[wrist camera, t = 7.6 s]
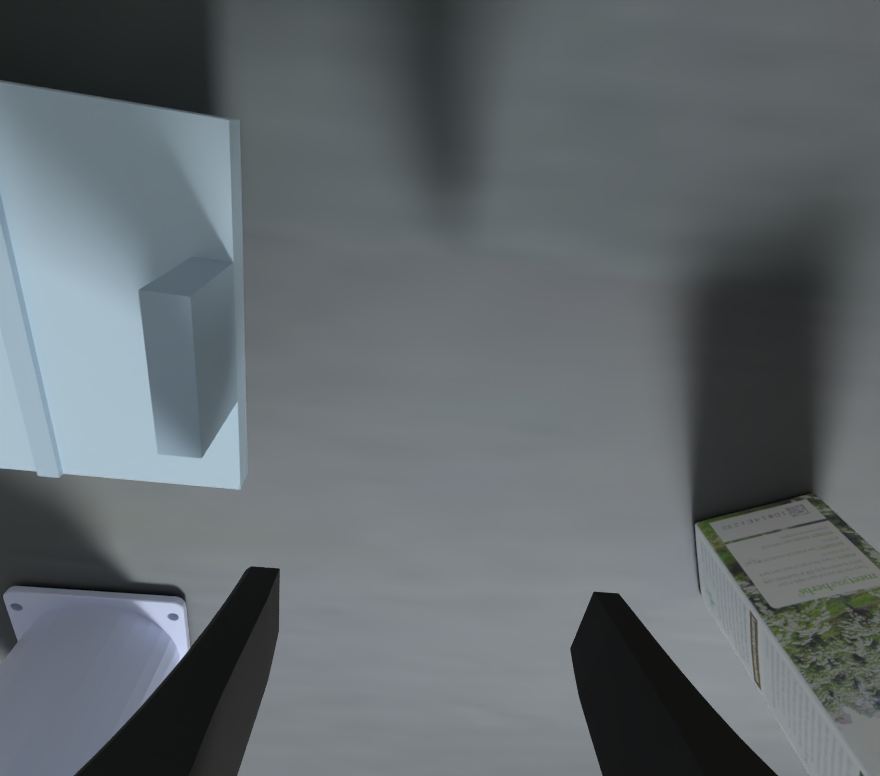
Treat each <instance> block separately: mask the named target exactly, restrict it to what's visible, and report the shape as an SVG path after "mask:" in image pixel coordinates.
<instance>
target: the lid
mask: <svg viewBox="0 0 880 776" xmlns="http://www.w3.org/2000/svg"><path fill="white" fill-rule="evenodd" d="M0 468H4V469H16V470H27V471H37V475H38V476H44V477H55V478H60V477H61V476H62V475H63V474H72V475H83V476H94V477H105V478H116V479H127V480H139V481H150V482H161V483H172V484H183V485H195V486H206V487H217V488H228V489H239V490H240V489H241V487H242V485H243V483H244V481H245V479H246V477H247V474H248V465H247V420H246V375H245V330H244V285H243V239H242V194H241V149H240V120H237V119H231V118H225V117H219V116H213V115H207V114H201V113H195V112H189V111H183V110H177V109H171V108H165V107H159V106H153V105H147V104H141V103H135V102H129V101H123V100H117V99H111V98H105V97H99V96H93V95H87V94H81V93H75V92H69V91H63V90H57V89H51V88H45V87H39V86H33V85H27V84H21V83H15V82H9V81H3V80H0Z"/></svg>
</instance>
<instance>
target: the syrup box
mask: <svg viewBox="0 0 880 776" xmlns="http://www.w3.org/2000/svg"><path fill="white" fill-rule="evenodd" d="M695 532H696V548H697V559H698V569H699V578H700V589H701V596H702V600H703V602H704V604H705V606H706V607H707V609H708V611H709V612H710V614H711V615H712V617H713V619H714V620H715V622H716V623H717V625H718V626H719V628H720V630H721V631H722V633H723V634H724V636H725V637H726V639H727V640H728V642H729V643H730V645H731V646H732V648H733V650H734V651H735V653H736V654H737V656H738V658H739V660H740V661H741V663H742V664H743V666H744V668H745V669H746V671H747V672H748V674H749V676H750V677H751V679H752V680H753V682H754V684H755V686H756V687H757V689H758V690H759V692H760V694H761V695H762V697H763V699H764V700H765V702H766V704H767V705H768V707H769V709H770V711H771V712H772V714H773V716H774V717H775V719H776V721H777V722H778V724H779V726H780V727H781V729H782V731H783V732H784V734H785V736H786V737H787V739H788V740H789V742H790V744H791V745H792V747H793V749H794V751H795V752H796V754H797V756H798V757H799V759H800V761H801V762H802V764H803V766H804V767H805V769H806V771H807V773H808V774H809V776H880V553H879V552H877V551H876V550H875V549H874V548H873V547H872V546H871V545H870V544H868V543H867V542H866V541H865V540H864V539H863V538H862V537H861V536H860V535H859V534H857V533H856V532H855V531H854V530H853V529H852V528H851V527H850V526H849V525H848V524H847V523H846V522H845V521H843V520H842V519H841V518H840V517H839V516H838V515H837V513H835V512H834V511H833V510H832V509H831V508H830V507H829V506H828V505H826V504H825V503H824V502H823V501H822V500H821V499H820V498H819V497H818V496H816V495H815V494H812V493H811V494H807V495H803V496H799V497H795V498H791V499H787V500H784V501H779V502H775V503H772V504H768V505H763V506H760V507H756V508H752V509H747V510H743V511H740V512H736V513H732V514H728V515H724V516H720V517H716V518H711V519H708V520H704V521H701V522H697V523H696V524H695Z"/></svg>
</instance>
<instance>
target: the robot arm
mask: <svg viewBox="0 0 880 776" xmlns="http://www.w3.org/2000/svg"><path fill="white" fill-rule="evenodd" d="M279 578H280V569H278V568H264V567H250V568H248V569H247V570H246V571H245V572H244V574H243V575H242V577H241V579H240V580H239V582H238V583H237V585H236V586H235V588H234V590H233V591H232V593H231V594H230V595H229V597H228V598H227V600H226V601H225V603H224V604H223V606H222V607H221V608H220V610H219V611H218V612H217V614H216V615H215V617H214V618H213V619H212V621H211V622H210V623H209V625H208V626H207V627H206V629H205V630H204V631H203V632H202V634H201V635H200V636H199V638H198V639H197V640H196V641H195V643H194V644H193V645H192V647H190V638H189V628H188V619H187V609H186V603H185V601H184V600H183V599H182V598H179V597H176V596H162V595H147V594H132V593H116V592H101V591H86V590H71V589H56V588H41V587H26V586H12V587H10V588H9V589H8V590H7V591H6V592H5V593H4V595H3V599H4V602H5V605H6V608H7V611H8V614H9V617H10V620H11V623H12V626H13V629H14V632H15V635H16V638H17V641H18V642H17V644H16V645H15V646H14V648H13V649H12V650H11V651H10V653H9V654H8V655H7V657H6V658H5V659H4V661H3V662H2V663H1V665H0V776H237V774H238V771H239V768H240V765H241V762H242V759H243V756H244V753H245V750H246V746H247V743H248V740H249V737H250V734H251V731H252V728H253V725H254V722H255V719H256V716H257V713H258V710H259V706H260V703H261V700H262V697H263V694H264V691H265V688H266V685H267V681H268V677H269V673H270V669H271V664H272V660H273V655H274V651H275V646H276V641H277V637H278V632H279ZM570 650H571V656H572V662H573V668H574V673H575V679H576V684H577V689H578V694H579V698H580V702H581V705H582V709H583V712H584V715H585V719H586V722H587V726H588V729H589V732H590V736H591V739H592V742H593V745H594V749H595V752H596V755H597V759H598V762H599V765H600V768H601V772H602V775H603V776H778V775H777V774H776V773H775V772H774V771H773V770H772V769H771V768H770V767H769V766H768V765H767V764H766V763H765V762H764V761H763V760H762V759H761V758H760V757H759V756H758V755H757V754H756V753H754V752H753V751H752V750H751V748H750V747H749V746H748V745H747V744H746V743H745V742H744V741H743V740H742V739H741V738H740V737H739V736H738V735H737V734H736V733H735V732H734V731H733V730H732V728H731V727H730V726H729V725H728V724H727V723H726V722H725V721H724V720H723V719H722V717H721V716H720V715H719V714H718V713H717V712H716V711H715V710H714V709H713V708H712V706H711V705H710V704H709V703H708V702H707V701H706V700H705V699H704V697H703V696H702V695H701V694H700V693H699V692H698V691H697V689H696V688H695V687H694V686H693V685H692V684H691V682H690V681H689V680H688V679H687V678H686V676H685V675H684V674H683V673H682V672H681V670H680V669H679V668H678V667H677V666H676V664H675V663H674V662H673V661H672V660H671V658H670V657H669V656H668V655H667V653H666V652H665V651H664V650H663V649H662V647H661V646H660V645H659V644H658V642H657V641H656V640H655V639H654V637H653V636H652V635H651V634H650V632H649V631H648V630H647V629H646V627H645V626H644V625H643V623H642V622H641V621H640V620H639V618H638V617H637V616H636V615H635V613H634V612H633V611H632V610H631V608H630V607H629V606H628V605H627V603H626V602H625V601H624V600H623V598H622V597H621V596H620V595H619V594H618V593H604V592H593V595H592V597H591V600H590V602H589V605H588V607H587V609H586V612H585V614H584V617H583V619H582V622H581V624H580V626H579V629H578V631H577V634H576V636H575V639H574V641H573V643H572V646H571V648H570Z"/></svg>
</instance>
